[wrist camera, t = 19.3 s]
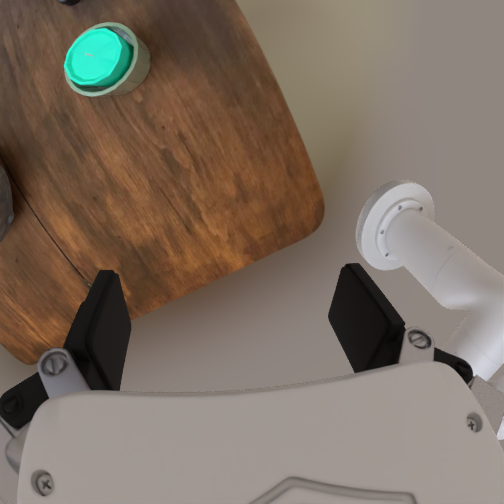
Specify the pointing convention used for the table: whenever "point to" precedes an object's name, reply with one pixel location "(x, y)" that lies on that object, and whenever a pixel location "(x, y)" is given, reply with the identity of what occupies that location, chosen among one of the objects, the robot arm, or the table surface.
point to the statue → (68, 2)
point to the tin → (134, 73)
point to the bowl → (5, 204)
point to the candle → (99, 58)
